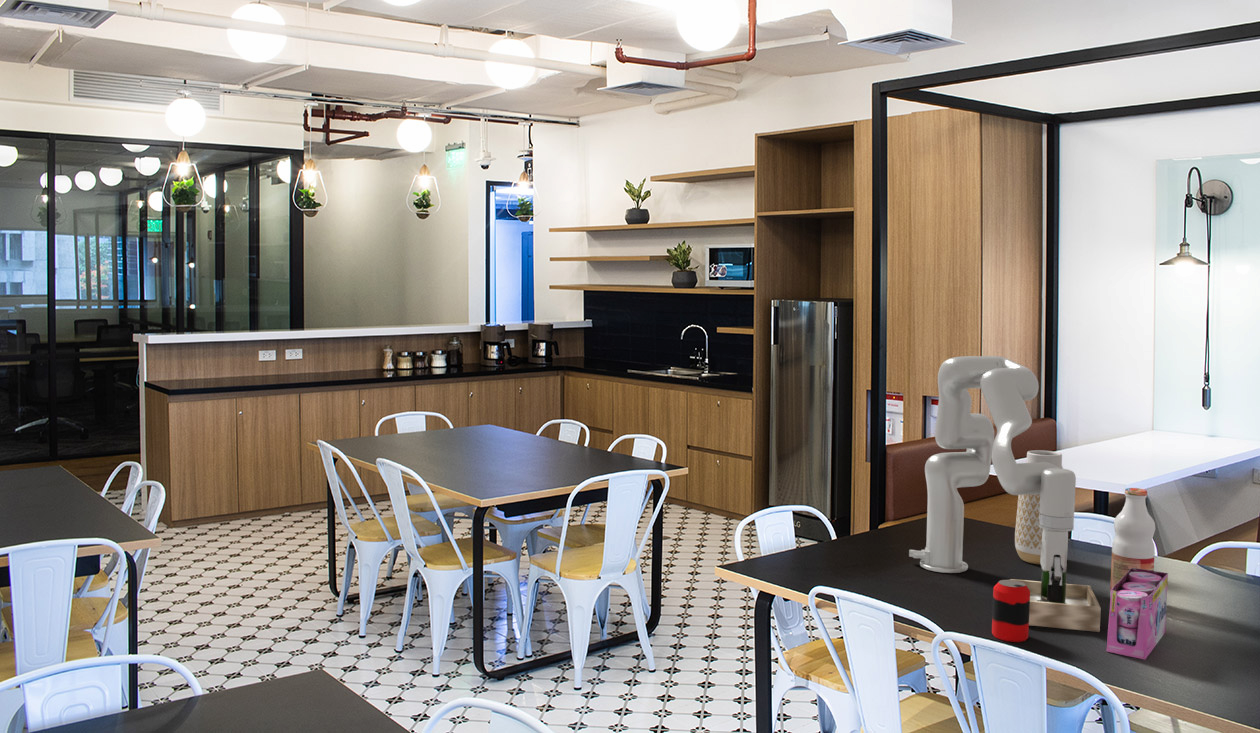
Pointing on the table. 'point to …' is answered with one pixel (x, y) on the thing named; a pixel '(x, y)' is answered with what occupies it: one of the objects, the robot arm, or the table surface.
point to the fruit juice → (1132, 537)
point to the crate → (1065, 608)
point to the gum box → (1137, 613)
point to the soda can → (1011, 611)
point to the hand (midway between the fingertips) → (1053, 596)
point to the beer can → (1046, 581)
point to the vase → (1032, 513)
